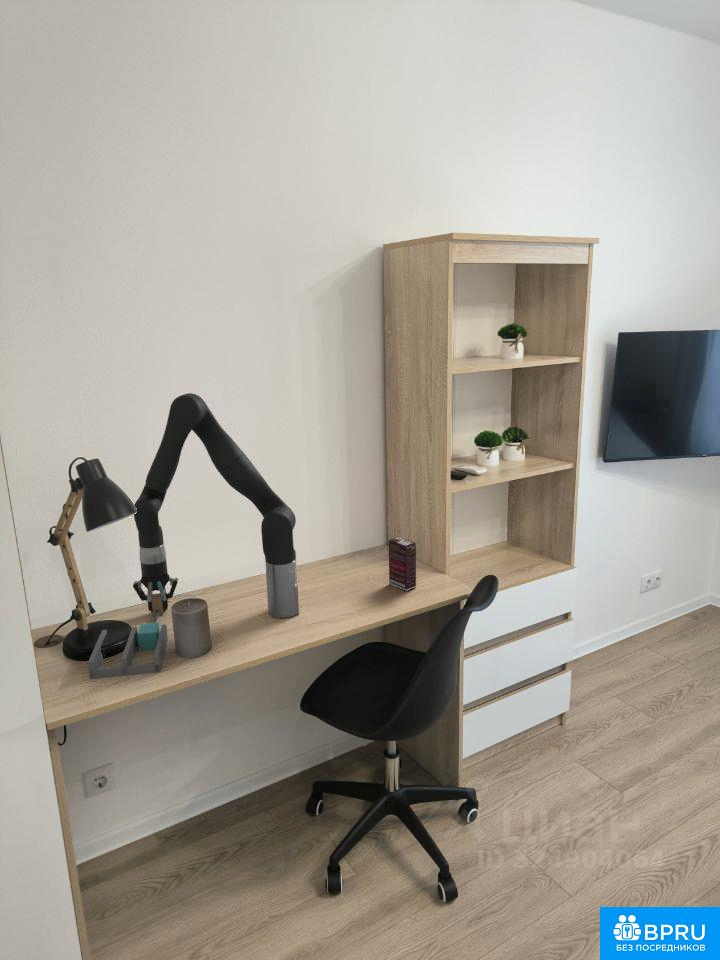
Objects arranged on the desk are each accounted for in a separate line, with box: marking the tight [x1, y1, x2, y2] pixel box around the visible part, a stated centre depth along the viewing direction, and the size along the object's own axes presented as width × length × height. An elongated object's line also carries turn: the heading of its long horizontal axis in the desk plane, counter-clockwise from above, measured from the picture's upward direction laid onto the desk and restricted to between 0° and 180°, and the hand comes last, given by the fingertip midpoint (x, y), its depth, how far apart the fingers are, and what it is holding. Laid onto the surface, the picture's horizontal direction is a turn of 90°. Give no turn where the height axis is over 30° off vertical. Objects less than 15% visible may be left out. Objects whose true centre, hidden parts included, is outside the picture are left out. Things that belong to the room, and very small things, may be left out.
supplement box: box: [388, 536, 417, 592], centre depth 229 cm, size 9×5×16 cm, turn 40°
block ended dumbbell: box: [137, 592, 165, 651], centre depth 203 cm, size 5×24×6 cm, turn 9°
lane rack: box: [87, 624, 169, 680], centre depth 187 cm, size 17×18×5 cm
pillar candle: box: [170, 597, 213, 659], centre depth 189 cm, size 10×10×15 cm
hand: (158, 610), depth 214 cm, fingers closed on block ended dumbbell, 3 cm apart
